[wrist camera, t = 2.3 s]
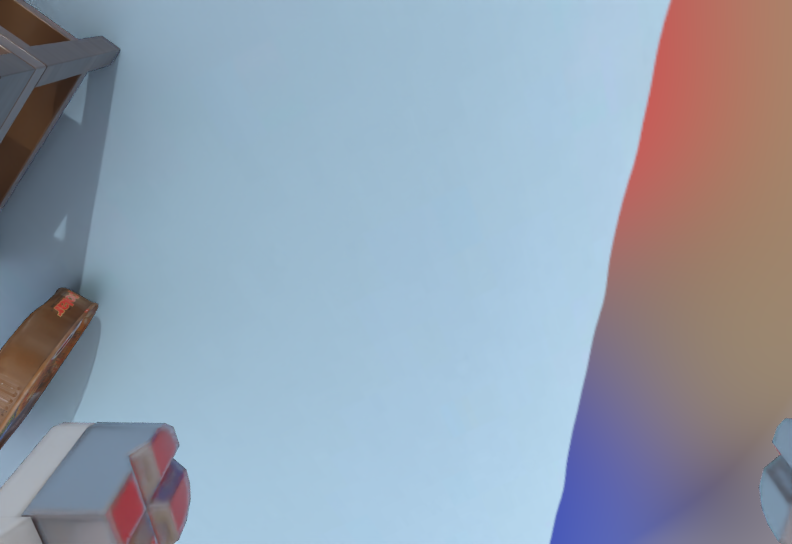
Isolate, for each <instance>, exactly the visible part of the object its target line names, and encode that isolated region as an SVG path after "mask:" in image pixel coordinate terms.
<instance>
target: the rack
mask: <svg viewBox="0 0 792 544" xmlns="http://www.w3.org/2000/svg"><path fill="white" fill-rule="evenodd" d="M119 51H120V48H118V47H117V46H115V45H114V44H113V43H111V42H110V41H109V40H107V39H106V38H105V37H103V36H98V37H91V38H84V39H77V38H75V37H74V36H72V35H71V34H70V33H68V32H67V31H66V30H64V29H63V28H61V27H60V26H59V25H57V24H56V23H54V22H53V21H52V20H50V19H49V18H47V17H46V16H45V15H43V14H42V13H40V12H39V11H38V10H36V9H35V8H33V7H32V6H31V5H29V4H28V3H26V2H25V1H24V0H0V212H1V210H2V208H3V207H4V205H5V204H6V202H7V200H8V199H9V197H10V196H11V194H12V192H13V191H14V189H15V188H16V186H17V184H18V183H19V181H20V180H21V178H22V176H23V175H24V173H25V172H26V170H27V168H28V167H29V165H30V164H31V162H32V160H33V159H34V157H35V156H36V154H37V152H38V151H39V149H40V148H41V146H42V144H43V143H44V141H45V140H46V138H47V136H48V135H49V133H50V132H51V130H52V128H53V127H54V125H55V124H56V122H57V120H58V119H59V117H60V116H61V114H62V112H63V111H64V109H65V108H66V106H67V104H68V103H69V101H70V100H71V98H72V96H73V95H74V93H75V92H76V90H77V88H78V87H79V85H80V84H81V82H82V80H83V79H84V77H85V76H86V74H87V72H89V71H93V70H96V69H99V68H103V67H106V66H109V65H111V64H112V62H113V61H114V59H115V57H116V56H117V54H118V53H119Z"/></svg>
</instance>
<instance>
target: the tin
mask: <svg viewBox="0 0 792 544" xmlns="http://www.w3.org/2000/svg"><path fill="white" fill-rule="evenodd" d="M97 308H98V303H93V302H91V301H89V300H87V299H86V298H84V297H82V296H80V295H79V294H77V293H75V292H73V291H71V290H69V289H67V288H59V289H58V290H57V291H56V293H55V294H54V295H53V296H52V297H51V298H50V299H49V300H48V301H47V302H46V303H45V304H43V305H42V306H40V307H39V308H37V309H36V310H35V311H34V312H32V313H31V314H30V315H29V316H28V317H27V318H26V319H25V320H24V322H23V323H22V324H21V325H20V326H19V327H18V329H17V330H16V331H15V332H14V334H13V335H12V336H11V337H10V338H9V339H8V341H7V342H6V343H5V345H4V346H3V347H2V349H1V350H0V449H1V448H2V447H3V445H4V444H5V443H6V442H7V440H8V439H9V438H10V437H11V435H12V434H13V433H14V432H15V430H16V429H17V428H18V427H19V425H20V424H21V423H22V421H23V420H24V419H25V417H26V416H27V414H28V413H29V412H30V410H31V409H32V407H33V406H34V404H35V403H36V401H37V400H38V399H39V397H40V396H41V394H42V393H43V391H44V390H45V388H46V387H47V385H48V384H49V382H50V381H51V379H52V378H53V376H54V375H55V373H56V372H57V370H58V369H59V368H60V366H61V365H62V363H63V361H64V360H65V359H66V357H67V356H68V354H69V353H70V351H71V350H72V348H73V347H74V345H75V344H76V342H77V341H78V339H79V338H80V336H81V335H82V333H83V332H84V330H85V329H86V327H87V326H88V324H89V323H90V321H91V319H92V317H93V316H94V314H95V312H96V311H97Z"/></svg>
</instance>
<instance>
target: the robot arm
mask: <svg viewBox="0 0 792 544" xmlns="http://www.w3.org/2000/svg"><path fill="white" fill-rule="evenodd" d="M772 443H773V444H774V446H775V447H776V449H777V451H778V452H779V453H780V455H779V456H778V457H776V458H775V459H774V460H773V461H772V462H770V463H769V464H768V465H767V466H765V467H764V469H763V473H762V477H761V481H760V485H759V491H760V500H761V508H762V511H763V513H764V516H765V519H766V521H767V524H768V526H769V528H770V529H771V531H772V532H773V534H774V536H775V537H776V539H777V541H778V542H779V543H781V544H792V418H785V419H784V420H783V421H782V422H781V423H780V424H779V426H778V427H777V429H776V432H775V434H774V438H773V441H772ZM178 447H179V442H178V439H177V436H176V433H175V430H174V427H172V426H170V425H168V424H166V423H118V422H97V423H74V422H63V423H61V424H59V425H56V426H54V427H52V428H51V429H50V430H49V431H48V433H47V434H46V435H45V436H44V437H43V438H42V440H41V441H40V442H39V443H38V444H37V446H36V447H35V448H34V449H33V450H32V451H31V453H30V454H29V455H28V456H27V457H26V459H25V460H24V461H23V462H22V463H21V465H20V466H19V467H18V468H17V469H16V470H15V472H14V473H13V474H12V475H11V476H10V478H9V479H8V480H7V481H6V482H5V483H4V485H3V486H2V487H1V488H0V544H174V543H175V542H176V541H178V540H179V538H180V535H181V533H182V531H183V528H184V526H185V523H186V521H187V516H188V510H189V505H190V499H191V498H190V482H189V478H188V474H187V470H186V469H185V468H184V467H183V466H182V465H180V464H179V463H178V462H177V461H176V460H175V459H173V457H174V455H175V453H176V451H177V449H178Z"/></svg>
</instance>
